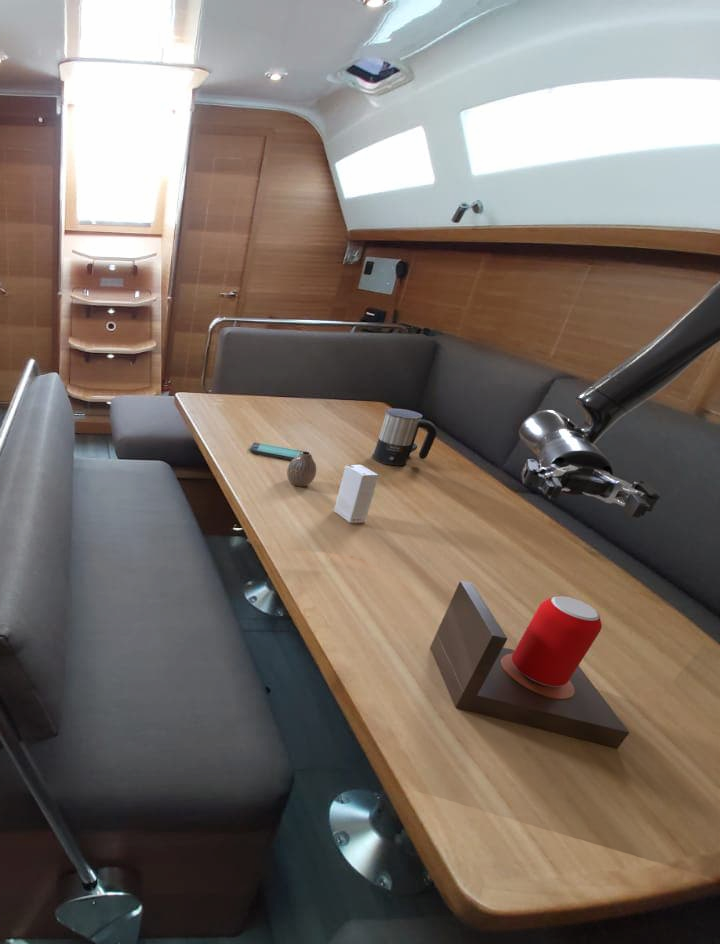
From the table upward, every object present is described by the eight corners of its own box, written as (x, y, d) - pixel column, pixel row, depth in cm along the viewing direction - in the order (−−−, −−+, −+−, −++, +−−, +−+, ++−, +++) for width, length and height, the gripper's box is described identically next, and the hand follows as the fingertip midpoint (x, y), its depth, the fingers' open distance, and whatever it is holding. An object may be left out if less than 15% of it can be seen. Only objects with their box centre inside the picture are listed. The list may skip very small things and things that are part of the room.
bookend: (567, 678, 74) (611, 609, 68) (617, 748, 63) (674, 674, 58) (429, 647, 78) (459, 580, 73) (455, 707, 68) (492, 635, 62)
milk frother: (377, 464, 145) (392, 416, 139) (359, 445, 160) (373, 400, 153) (429, 469, 143) (448, 420, 137) (407, 449, 157) (423, 404, 151)
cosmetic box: (365, 522, 114) (381, 475, 109) (348, 524, 113) (363, 476, 108) (348, 509, 119) (362, 463, 114) (331, 510, 118) (345, 464, 113)
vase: (285, 486, 130) (292, 455, 126) (284, 476, 136) (291, 446, 132) (313, 491, 128) (322, 459, 124) (311, 480, 134) (319, 450, 130)
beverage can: (572, 681, 69) (615, 613, 64) (552, 698, 66) (596, 629, 61) (520, 651, 74) (556, 586, 69) (500, 666, 71) (536, 600, 66)
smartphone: (253, 441, 156) (304, 450, 150) (253, 445, 156) (304, 454, 150) (249, 449, 150) (303, 458, 144) (249, 453, 150) (302, 462, 144)
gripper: (526, 433, 83) (542, 464, 70) (645, 453, 76) (685, 492, 63) (508, 474, 86) (520, 510, 73) (620, 497, 79) (654, 542, 67)
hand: (596, 502), depth 68 cm, fingers open, 8 cm apart
